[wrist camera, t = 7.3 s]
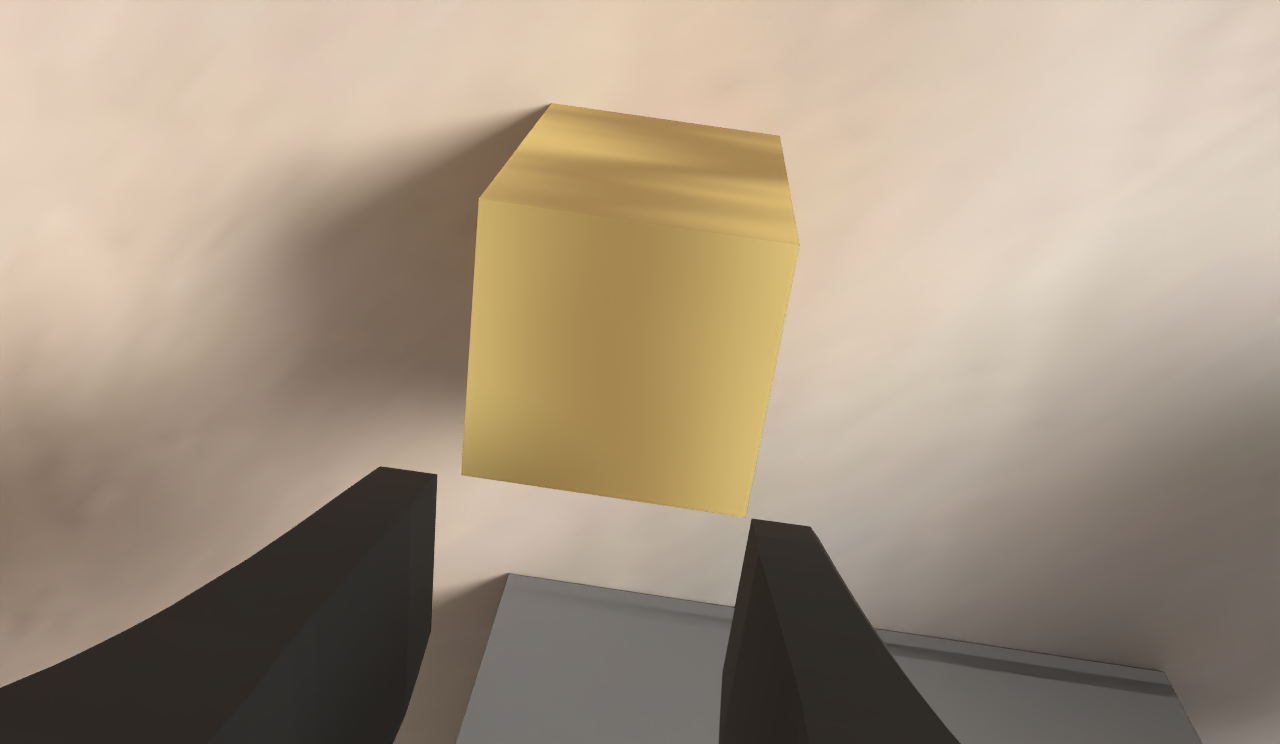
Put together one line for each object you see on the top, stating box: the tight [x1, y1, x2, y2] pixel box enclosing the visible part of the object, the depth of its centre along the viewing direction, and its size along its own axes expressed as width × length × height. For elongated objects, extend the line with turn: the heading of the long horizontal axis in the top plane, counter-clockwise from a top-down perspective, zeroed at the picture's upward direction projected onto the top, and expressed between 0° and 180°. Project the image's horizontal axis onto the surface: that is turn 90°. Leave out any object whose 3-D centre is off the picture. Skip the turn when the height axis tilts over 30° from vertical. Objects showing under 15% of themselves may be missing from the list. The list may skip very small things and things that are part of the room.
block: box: [461, 103, 800, 517], centre depth 17 cm, size 4×4×6 cm
